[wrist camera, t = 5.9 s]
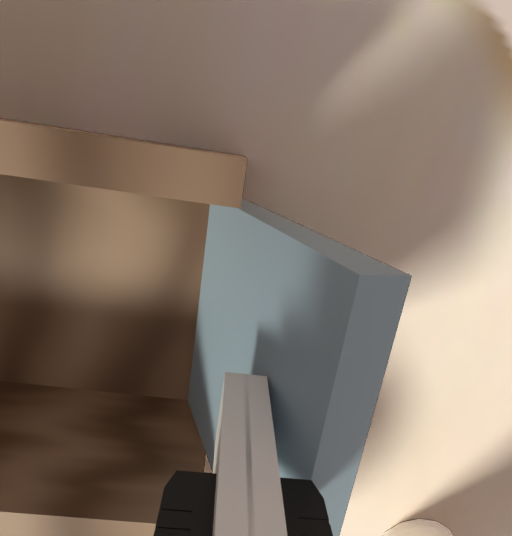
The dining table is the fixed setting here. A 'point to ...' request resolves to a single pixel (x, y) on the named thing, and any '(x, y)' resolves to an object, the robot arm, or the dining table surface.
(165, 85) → the dining table surface
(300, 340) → the blue gray square panel
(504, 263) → the dining table surface
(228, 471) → the robot arm
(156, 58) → the dining table surface
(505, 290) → the dining table surface
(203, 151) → the crate
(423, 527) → the foam cup
